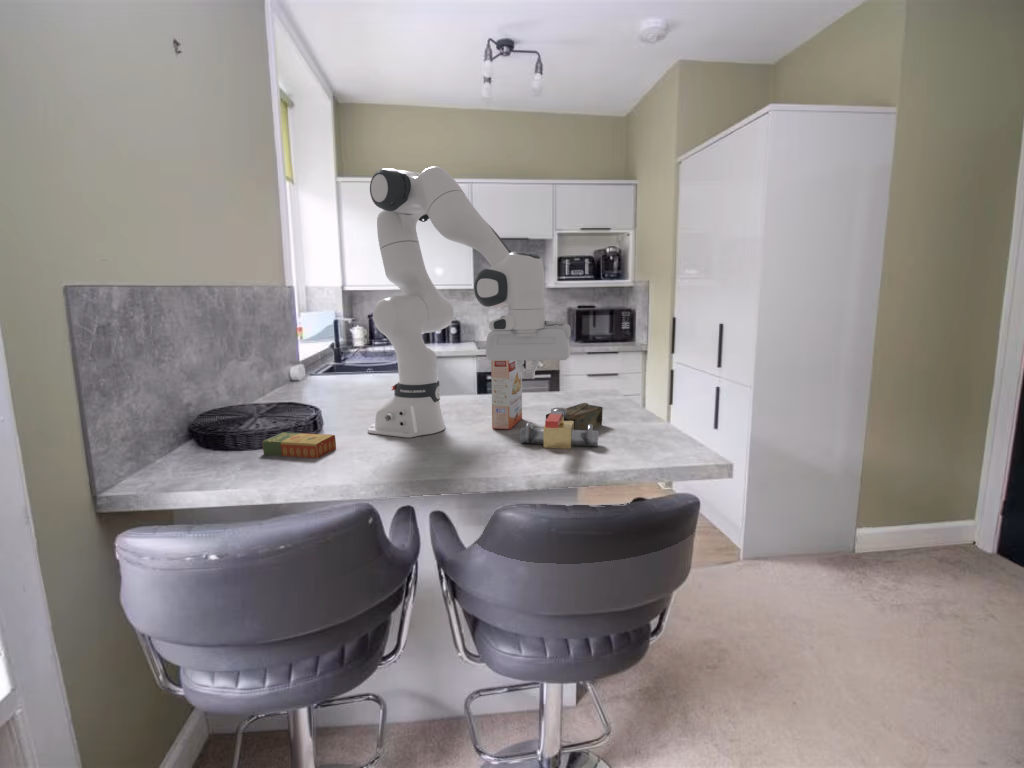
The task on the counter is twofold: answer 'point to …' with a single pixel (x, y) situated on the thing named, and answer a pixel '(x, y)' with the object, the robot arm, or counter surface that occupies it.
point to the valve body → (559, 435)
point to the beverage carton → (583, 416)
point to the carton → (299, 445)
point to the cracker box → (506, 393)
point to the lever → (555, 417)
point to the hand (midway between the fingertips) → (528, 378)
